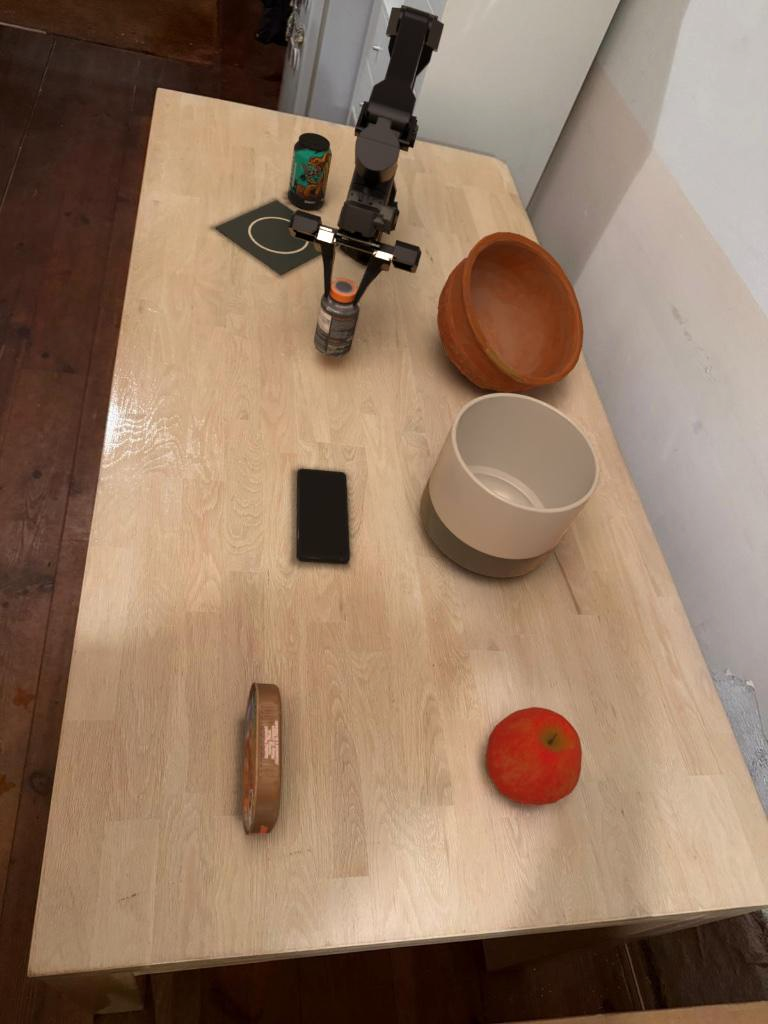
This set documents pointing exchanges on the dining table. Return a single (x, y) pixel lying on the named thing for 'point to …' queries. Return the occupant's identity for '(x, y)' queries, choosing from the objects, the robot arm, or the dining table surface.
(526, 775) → the apple
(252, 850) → the dining table surface
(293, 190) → the beverage can
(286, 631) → the dining table surface
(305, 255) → the slate board
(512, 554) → the planter
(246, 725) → the tin
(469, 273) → the bowl
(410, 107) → the robot arm
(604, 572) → the dining table surface
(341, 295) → the pill bottle
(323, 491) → the smartphone
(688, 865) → the dining table surface
